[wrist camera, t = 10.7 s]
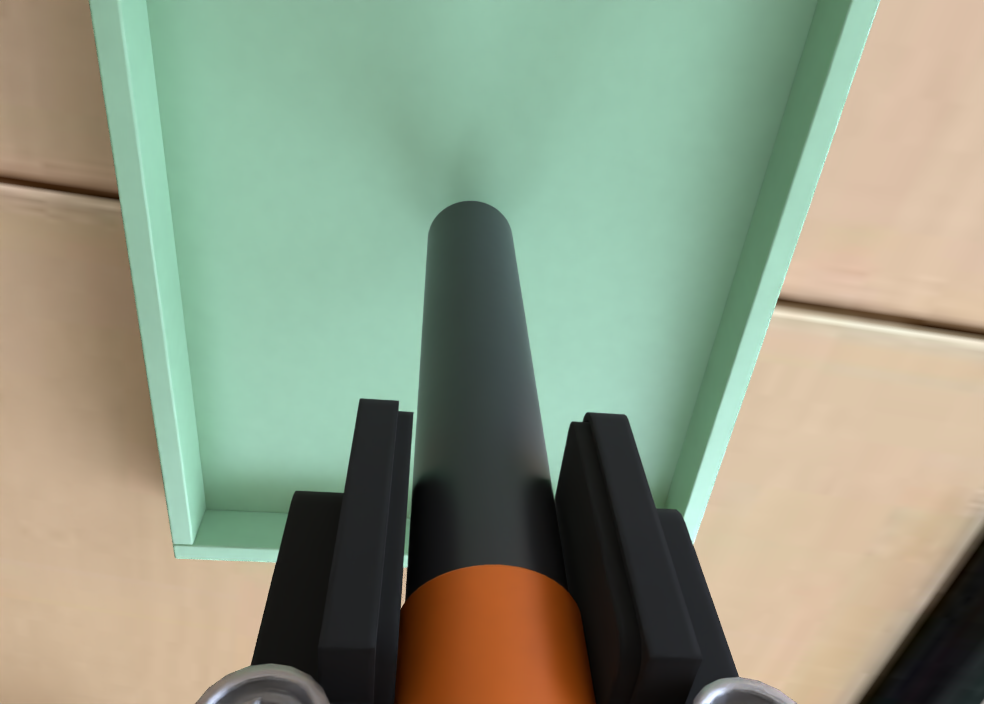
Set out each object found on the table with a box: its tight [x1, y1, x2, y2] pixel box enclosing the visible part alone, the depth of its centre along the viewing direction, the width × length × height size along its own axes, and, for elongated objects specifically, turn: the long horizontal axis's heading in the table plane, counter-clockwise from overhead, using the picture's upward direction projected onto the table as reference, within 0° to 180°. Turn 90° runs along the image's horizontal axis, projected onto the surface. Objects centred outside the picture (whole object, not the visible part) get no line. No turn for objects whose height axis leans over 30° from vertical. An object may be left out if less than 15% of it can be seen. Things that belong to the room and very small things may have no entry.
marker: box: [394, 201, 596, 704], centre depth 13 cm, size 2×2×14 cm
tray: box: [89, 0, 880, 567], centre depth 19 cm, size 21×15×2 cm
